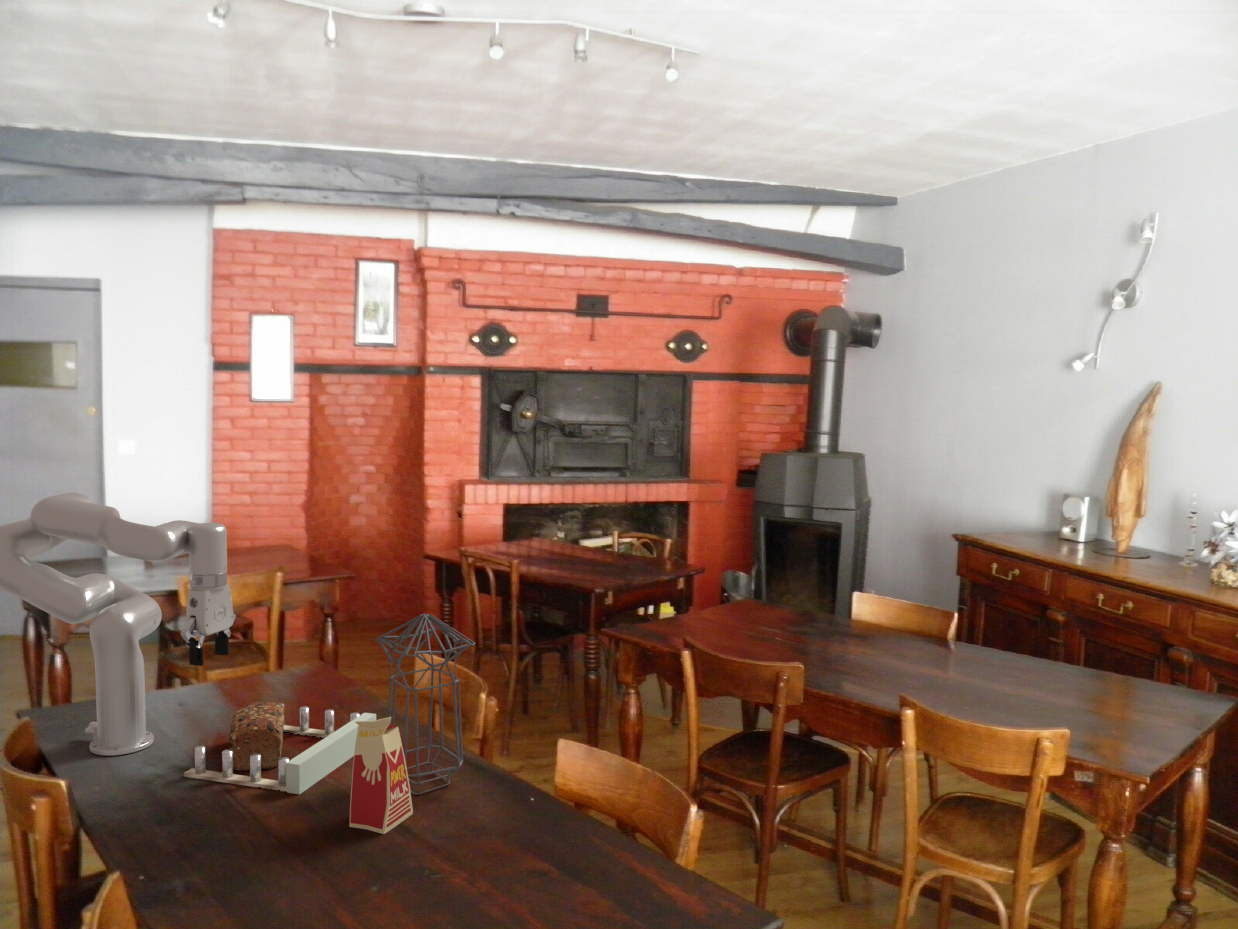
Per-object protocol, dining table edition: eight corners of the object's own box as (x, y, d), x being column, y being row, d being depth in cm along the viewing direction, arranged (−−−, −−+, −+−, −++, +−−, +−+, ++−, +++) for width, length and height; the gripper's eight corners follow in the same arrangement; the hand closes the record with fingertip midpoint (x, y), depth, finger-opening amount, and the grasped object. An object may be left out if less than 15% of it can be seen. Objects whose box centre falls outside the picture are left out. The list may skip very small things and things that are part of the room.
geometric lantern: (372, 780, 195) (371, 611, 192) (441, 762, 204) (441, 601, 201) (406, 807, 182) (406, 628, 179) (478, 787, 192) (479, 617, 189)
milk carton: (413, 813, 180) (413, 710, 178) (385, 835, 172) (385, 727, 170) (371, 805, 183) (371, 704, 181) (342, 826, 174) (342, 720, 173)
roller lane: (182, 777, 194) (182, 748, 194) (272, 726, 223) (272, 701, 222) (299, 794, 187) (299, 765, 187) (376, 739, 216) (376, 714, 216)
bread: (281, 769, 199) (281, 722, 199) (227, 774, 196) (226, 727, 196) (286, 737, 217) (285, 694, 216) (236, 741, 214) (235, 697, 213)
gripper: (195, 590, 197) (197, 673, 199) (248, 574, 214) (249, 650, 216) (165, 587, 199) (166, 669, 201) (220, 571, 216) (221, 647, 217)
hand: (209, 659), depth 208 cm, fingers open, 7 cm apart
